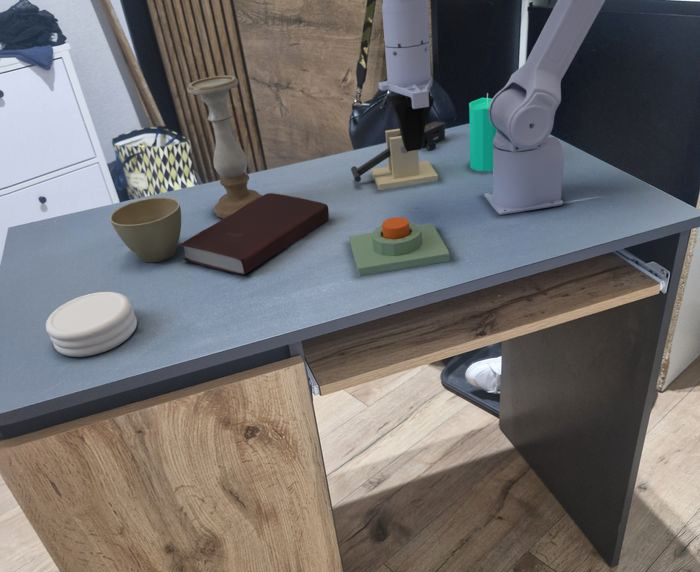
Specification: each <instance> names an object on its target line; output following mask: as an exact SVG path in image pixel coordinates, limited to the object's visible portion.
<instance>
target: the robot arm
mask: <svg viewBox="0 0 700 572" xmlns="http://www.w3.org/2000/svg"><path fill="white" fill-rule="evenodd" d="M605 2H606V0H556V2H555V4H554V6H553V9H552V11H551V13H550V15H549V17H548V18H547V20H546V22H545V24H544V26H543V28H542V30H541V32H540V34H539V36H538V38H537V40H536V41H535V44H534V45H533V47H532V49H531V51H530V53H529V55H528V57H527V59H526V60H525V63H524V64H522V65H521V66H520V67H519V68H518V69H517V70H516V71H514V72H513V73H512V74H511V75H510V77H509V80H508V81H507V83H506V84H505V86H504V87H503V88H501V89H500V90H499V91H498V92H496V94H495V95H494V96H493V97H492V101H491V103H490V106H489V119H490V122H491V123H492V125H493V126H494V127H495V128H496V135H495V137H494V140H493V171H492V191H490V192H485V193H484V195H483V196H484V198H485V200H486V201H488V203H489V204H490V205H491V207H492V208H493V209H494V210H495V212H496V213H497V214H498V215H500V216H501V215H502V216H503V215H508V214H509V215H510V214H515V213H522V212H528V211H535V210H541V209H547V208H553V207H559V206H563V204H564V201H563V200H562V195H563V194H562V191H563V176H564V165H565V164H564V163H565V162H564V157H565V156H564V150H563V146H562V143H561V142H560V140H559V138H557V137H555V136H551V137H550V135H551V133H552V131H553V128H554V123H555V115H556V111H557V110H558V107H559V106H560V104H561V102H562V89H561V86H562V85H561V83H562V79H563V78H564V76H565V74H566V72H567V71H568V69H569V67H570V65H571V63H572V62H573V60H574V59H575V56H576V55H577V52H578V51H579V49H580V47H581V46H582V44H583V42H584V40H585V38H586V37H587V34H588V33H589V30H590V29H591V27H592V25H593V23H594V22H595V20H596V18H597V16H598V15H599V12H600V11H601V9H602V7H603V6H604V4H605ZM381 13H382V27H383V39H384V42H383V43H384V53H385V65H386V79H387V80H385V81H379V82H378V89H379V90H380V91H381V92H383V91H390V92H393V93H396V94H395V95H390V96H388V97H387V101H388V102H389V104H390V106H391V108H392V110H393V113H394V116H395V118H396V121H397V124H398V129H400V133H401V137H402V141H403V144H404V147H405V149H406V151H414V150H418V151H420V150H422V148H421V147H422V143H423V137H424V130H425V125H427V120H428V117H429V115H430V111H431V110H432V107H433V105H434V101H435V98H434V97H433V96H432V95H431V92H430V90H431V88H432V85H433V82H434V81H433V76H432V71H431V70H432V69H431V67H432V66H431V43H430V42H431V41H430V21H429V20H430V19H429V17H430V16H429V0H382V6H381Z"/></svg>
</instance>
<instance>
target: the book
mask: <svg viewBox="0 0 700 572" xmlns="http://www.w3.org/2000/svg"><path fill="white" fill-rule="evenodd" d="M262 195H263V194H262ZM329 217H330V213H329V206H328V204H326V203H325V202H320V201H316V200H312V199H307V198H302V197H297V196H292V195H287V194H281V193H273V192H269V193H265V194H264V195H263V196H261V197H260V198H258V199H256V200H254V201H253V202H251V203H249V204H247V205H246V206H244V207H242V208H241V209H239V210H237V211H236V212H234V213H233V214H231V215H229V216H227V217H226V218H224V219H223V218H221V220H219V221H217V222H216V223H213V224H212V225H211V226H209V227H206V228H205V229H203V230H201V231H199V232H198V233H196V234H194V235H193V236H191V237H189V238H188V239H186V240H184V241H183V242H181V243H180V247H183V249H184V257H183V258H182V259H183V261H185V262H188V263H192V264H195V265H198V266H204V267H207V268H211V269H215V270H220V271H224V272H228V273H232V274H237V275H242V276H244V275H246V274H247V273H250V272H251V271H253V270H254V269H256V268H257V267H258V266H260V265H261V264H263V263H265V262H266V261H267V260H269V259H271V258H272V257H273V256H275V255H277V254H279V253H280V252H282V251H283V250H285V249H286V248H287V247H289V246H291V245H292V244H294V243H295V242H297V241H299V240H300V239H302V238H303V237H305V236H306V235H308V234H310V233H311V232H313V231H314V230H316V229H317V228H319V227H320V226H322V225H323V224H325V223H326V222H328V220H329Z"/></svg>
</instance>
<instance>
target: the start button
mask: <svg viewBox="0 0 700 572" xmlns="http://www.w3.org/2000/svg"><path fill="white" fill-rule="evenodd" d="M409 223H410V220H409V219H408V218H406V217H401V216H397V217H396V216H395V217H390V218H386V219H385V220H383V221H382V223H381V226H382V231H383V237H384V238H386V239H401V238H404V237H407V236H409V235H410V228H409Z"/></svg>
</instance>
